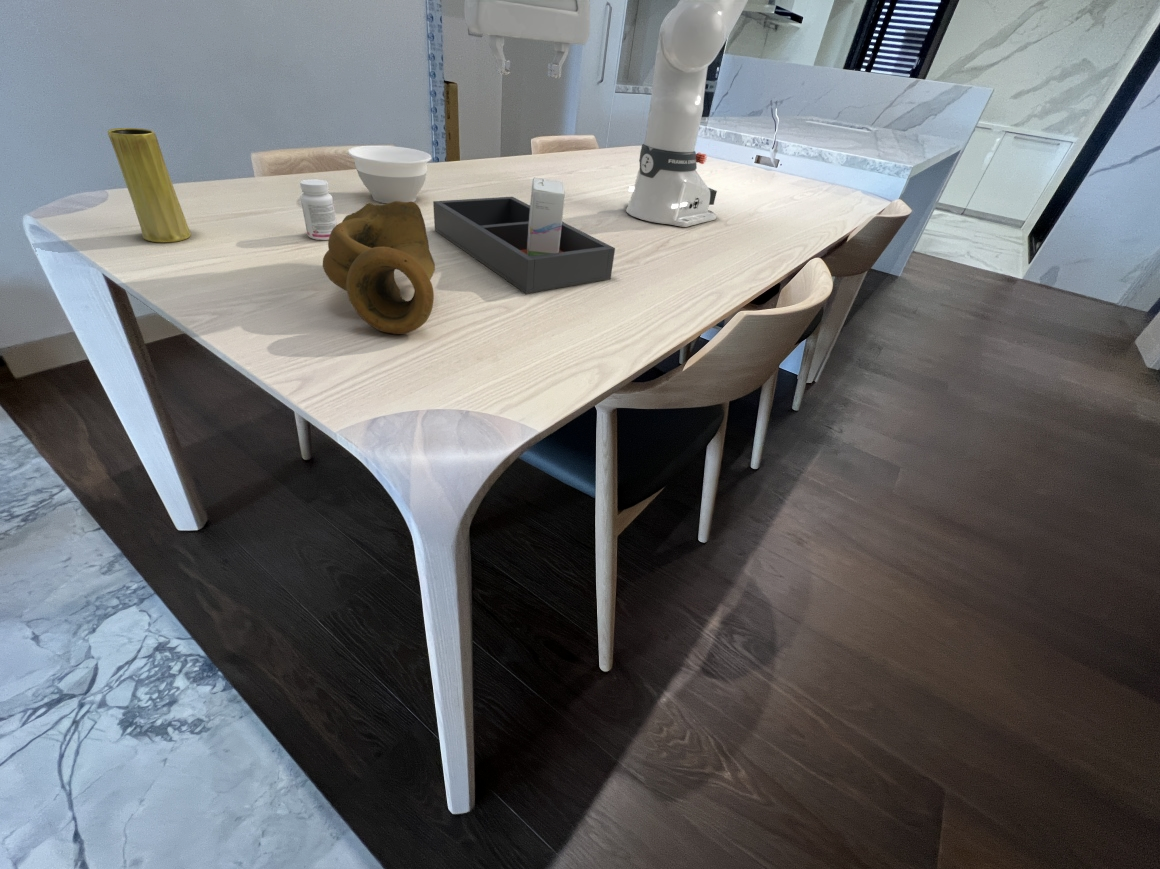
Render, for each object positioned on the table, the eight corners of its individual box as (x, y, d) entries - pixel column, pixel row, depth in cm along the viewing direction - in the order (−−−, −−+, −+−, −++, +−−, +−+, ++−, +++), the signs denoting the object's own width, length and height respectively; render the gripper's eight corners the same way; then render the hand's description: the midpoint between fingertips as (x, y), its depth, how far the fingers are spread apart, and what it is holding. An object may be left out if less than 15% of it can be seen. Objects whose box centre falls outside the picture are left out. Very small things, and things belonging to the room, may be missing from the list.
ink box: (526, 250, 92) (530, 176, 85) (556, 252, 92) (562, 179, 85) (527, 267, 85) (531, 188, 78) (559, 270, 86) (565, 192, 79)
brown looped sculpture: (480, 225, 78) (449, 247, 59) (452, 306, 84) (416, 350, 64) (355, 168, 74) (278, 171, 55) (334, 256, 80) (258, 287, 60)
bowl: (423, 212, 106) (420, 165, 101) (342, 203, 105) (334, 155, 100) (441, 194, 118) (439, 151, 113) (368, 185, 118) (363, 142, 112)
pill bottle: (345, 236, 90) (336, 182, 85) (323, 242, 86) (313, 187, 81) (323, 229, 91) (314, 176, 86) (301, 236, 88) (290, 181, 83)
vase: (197, 239, 82) (164, 134, 73) (150, 245, 78) (109, 135, 69) (183, 228, 85) (150, 126, 76) (137, 233, 81) (97, 127, 73)
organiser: (511, 223, 106) (512, 196, 103) (610, 279, 87) (615, 248, 84) (434, 230, 98) (432, 201, 95) (526, 294, 79) (527, 259, 75)
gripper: (578, -31, 82) (570, 77, 90) (457, -55, 71) (461, 69, 79) (603, -31, 78) (593, 81, 86) (480, -57, 67) (481, 74, 76)
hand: (529, 76), depth 83 cm, fingers open, 8 cm apart
